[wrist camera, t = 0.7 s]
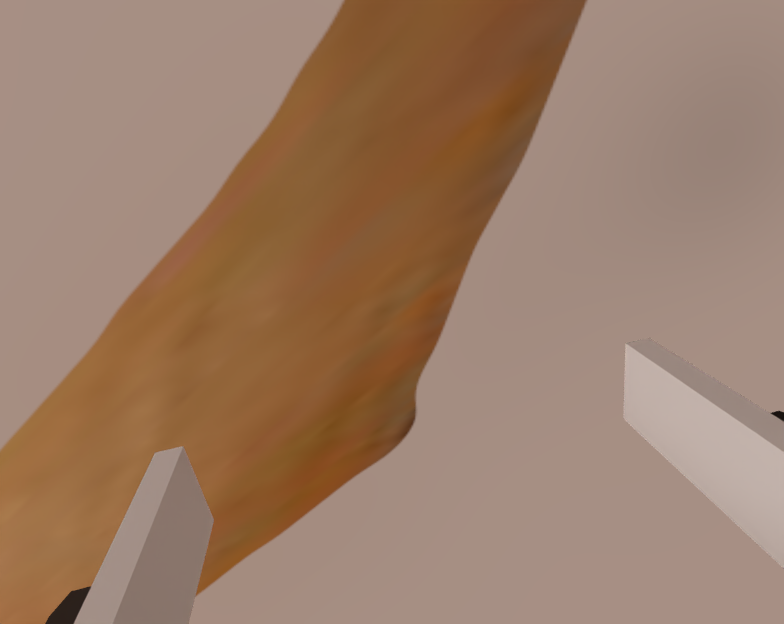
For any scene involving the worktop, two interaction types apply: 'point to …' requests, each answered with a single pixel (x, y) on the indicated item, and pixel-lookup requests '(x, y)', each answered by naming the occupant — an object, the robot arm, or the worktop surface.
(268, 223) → the worktop surface
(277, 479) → the worktop surface
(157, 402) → the worktop surface
